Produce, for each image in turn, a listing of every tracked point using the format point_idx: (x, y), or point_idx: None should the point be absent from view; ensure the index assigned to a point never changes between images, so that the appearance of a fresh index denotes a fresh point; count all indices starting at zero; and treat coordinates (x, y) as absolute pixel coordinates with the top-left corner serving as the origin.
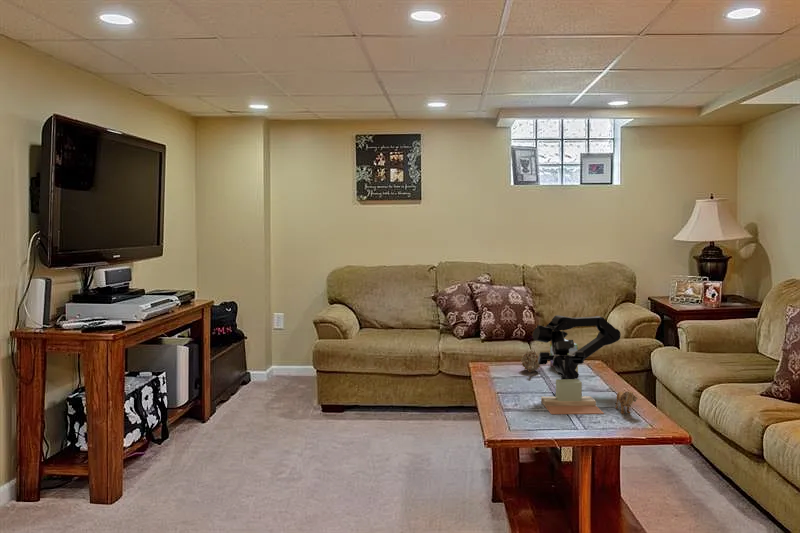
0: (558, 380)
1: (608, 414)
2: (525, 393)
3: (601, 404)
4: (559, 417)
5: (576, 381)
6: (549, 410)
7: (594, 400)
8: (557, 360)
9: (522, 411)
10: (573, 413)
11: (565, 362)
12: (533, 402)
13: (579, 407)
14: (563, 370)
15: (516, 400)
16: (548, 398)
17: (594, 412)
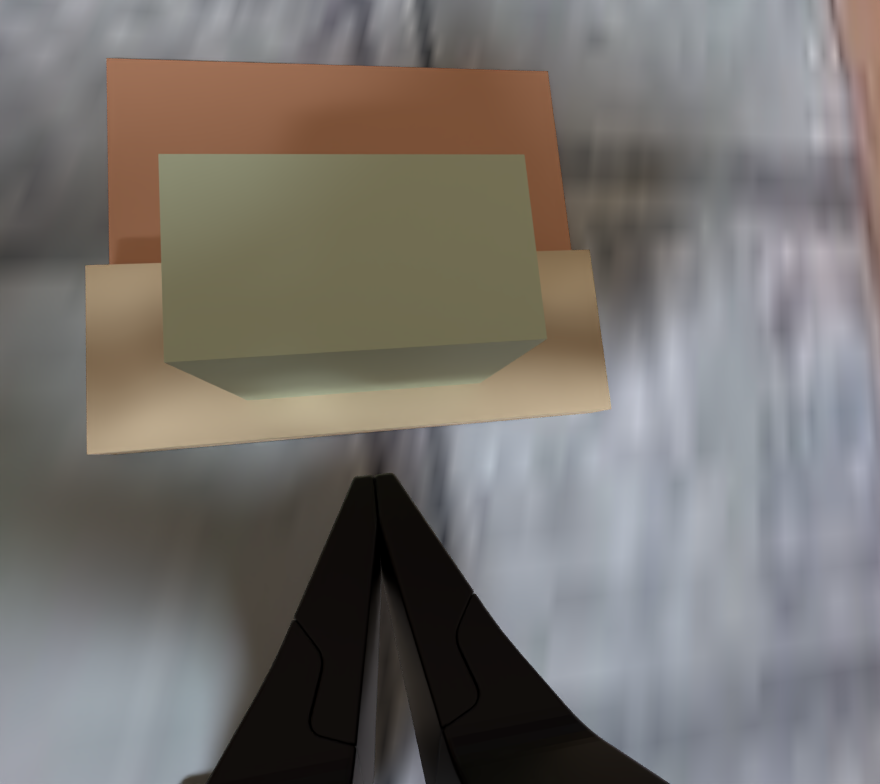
0: (516, 272)
1: (73, 50)
2: (710, 684)
3: (32, 346)
4: (495, 6)
5: (236, 208)
6: (553, 142)
7: (92, 290)
8: (652, 779)
9: (738, 149)
10: (377, 66)
11: (324, 777)
12: (654, 384)
13: None
14: (409, 530)
15: (782, 436)
16: (552, 349)
17: (190, 78)
